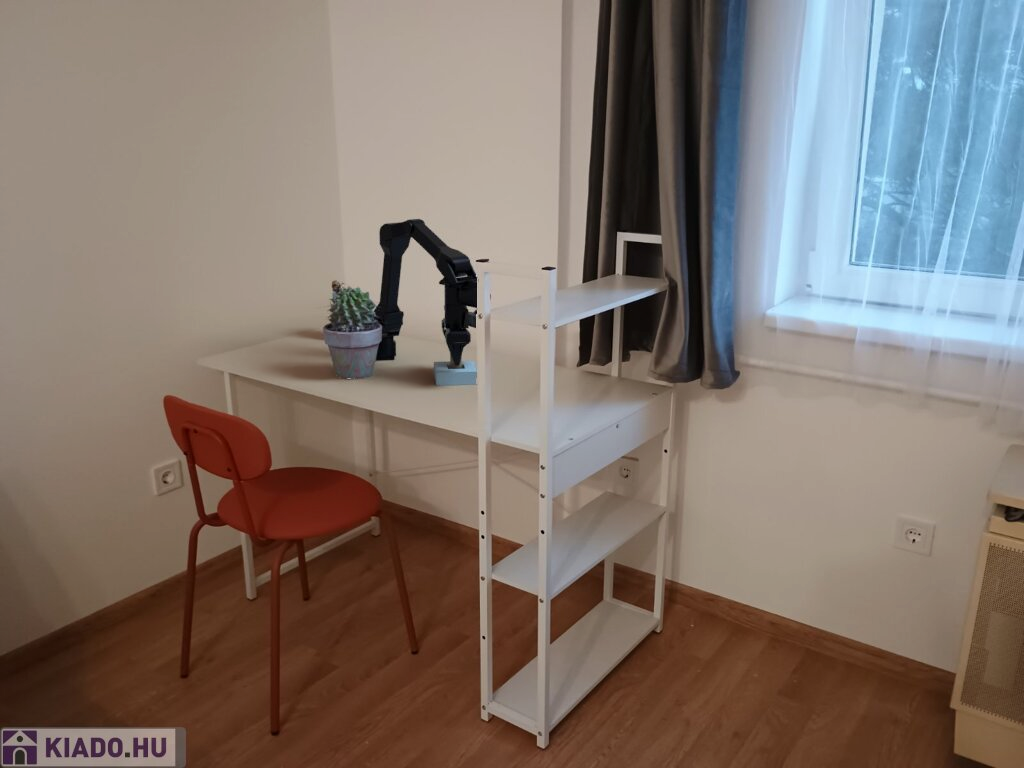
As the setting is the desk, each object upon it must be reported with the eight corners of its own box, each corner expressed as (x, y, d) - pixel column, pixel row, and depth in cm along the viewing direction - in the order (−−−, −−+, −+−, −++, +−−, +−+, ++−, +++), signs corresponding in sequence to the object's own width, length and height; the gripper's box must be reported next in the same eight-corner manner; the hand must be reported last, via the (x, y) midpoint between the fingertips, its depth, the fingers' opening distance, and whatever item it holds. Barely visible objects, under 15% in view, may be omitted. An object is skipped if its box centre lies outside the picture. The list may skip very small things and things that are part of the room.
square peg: (450, 380, 235) (450, 348, 233) (450, 377, 238) (449, 345, 236) (462, 380, 236) (462, 347, 233) (461, 377, 239) (461, 345, 236)
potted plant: (379, 386, 229) (376, 290, 222) (309, 380, 234) (304, 286, 227) (403, 369, 246) (401, 279, 239) (337, 363, 250) (334, 276, 243)
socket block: (436, 385, 231) (436, 372, 230) (433, 374, 241) (433, 361, 240) (478, 384, 232) (478, 371, 232) (474, 373, 243) (474, 360, 242)
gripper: (490, 310, 223) (490, 369, 228) (482, 296, 241) (481, 351, 246) (446, 310, 222) (446, 370, 226) (441, 296, 240) (441, 352, 244)
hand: (455, 361), depth 236 cm, fingers open, 9 cm apart
